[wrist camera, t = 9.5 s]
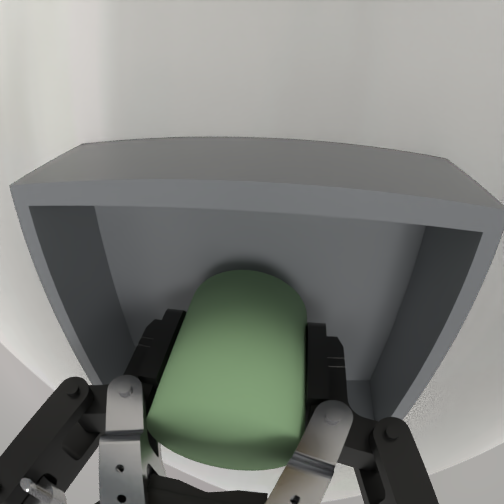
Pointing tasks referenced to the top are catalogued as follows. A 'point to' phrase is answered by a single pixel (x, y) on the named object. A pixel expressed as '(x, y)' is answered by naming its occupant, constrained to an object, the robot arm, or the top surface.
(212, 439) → the cucumber chunk
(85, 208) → the bin
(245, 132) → the top surface
